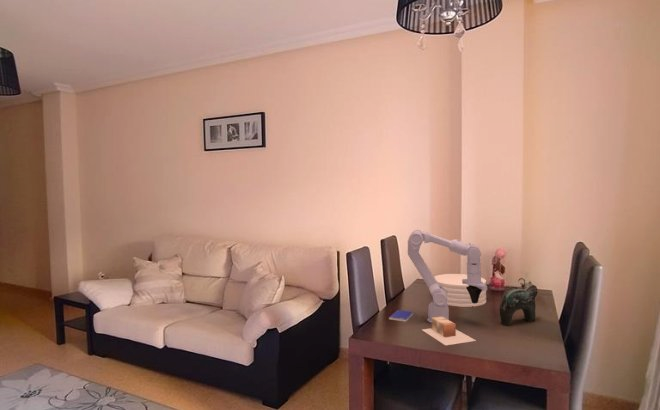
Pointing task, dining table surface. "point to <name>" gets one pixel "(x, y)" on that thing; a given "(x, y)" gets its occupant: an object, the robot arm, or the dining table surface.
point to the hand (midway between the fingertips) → (474, 302)
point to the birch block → (443, 326)
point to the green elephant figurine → (518, 302)
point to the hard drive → (401, 315)
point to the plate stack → (459, 290)
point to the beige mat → (449, 340)
